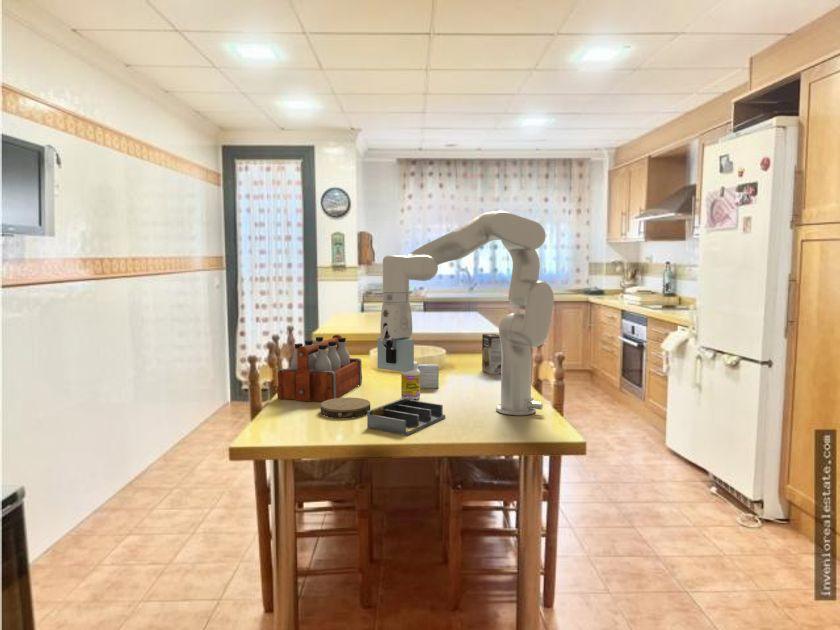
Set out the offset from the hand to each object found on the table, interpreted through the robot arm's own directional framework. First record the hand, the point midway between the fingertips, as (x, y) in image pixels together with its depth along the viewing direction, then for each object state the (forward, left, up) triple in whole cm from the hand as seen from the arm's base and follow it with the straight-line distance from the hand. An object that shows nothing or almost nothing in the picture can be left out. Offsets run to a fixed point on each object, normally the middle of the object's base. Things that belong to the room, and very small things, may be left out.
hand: (395, 361), depth 168 cm
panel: (0, 0, -2) cm, 2 cm away
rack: (0, -6, -20) cm, 20 cm away
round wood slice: (+24, -6, -20) cm, 32 cm away
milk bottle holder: (+50, -23, -20) cm, 58 cm away
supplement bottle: (+16, -32, -20) cm, 41 cm away
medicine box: (+20, -50, -20) cm, 57 cm away
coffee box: (+12, -90, -20) cm, 93 cm away
